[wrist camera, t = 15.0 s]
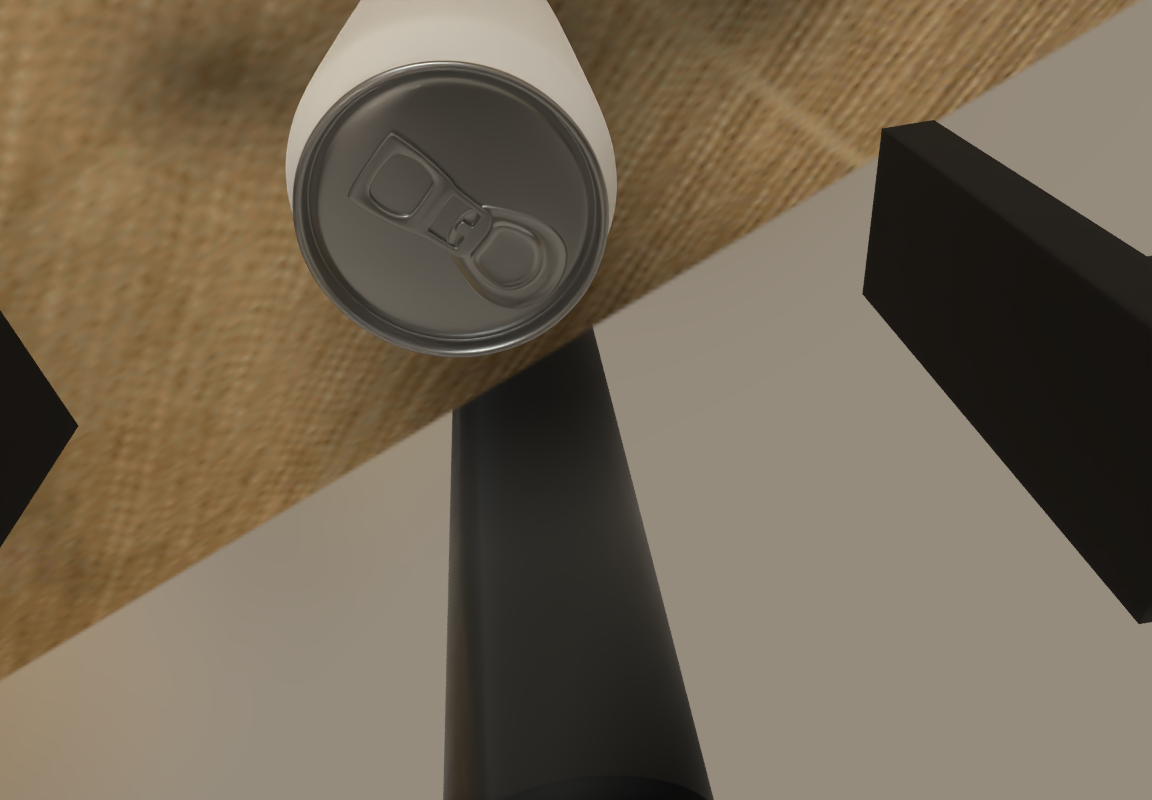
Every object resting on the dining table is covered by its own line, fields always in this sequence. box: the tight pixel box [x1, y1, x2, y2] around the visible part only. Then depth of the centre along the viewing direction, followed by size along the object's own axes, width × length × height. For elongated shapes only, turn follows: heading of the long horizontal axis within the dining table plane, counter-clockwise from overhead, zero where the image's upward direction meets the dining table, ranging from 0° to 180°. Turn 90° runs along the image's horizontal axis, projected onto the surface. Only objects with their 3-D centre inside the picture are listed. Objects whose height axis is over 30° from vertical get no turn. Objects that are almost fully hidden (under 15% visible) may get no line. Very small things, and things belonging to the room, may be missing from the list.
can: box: [286, 0, 617, 357], centre depth 19 cm, size 6×6×12 cm
